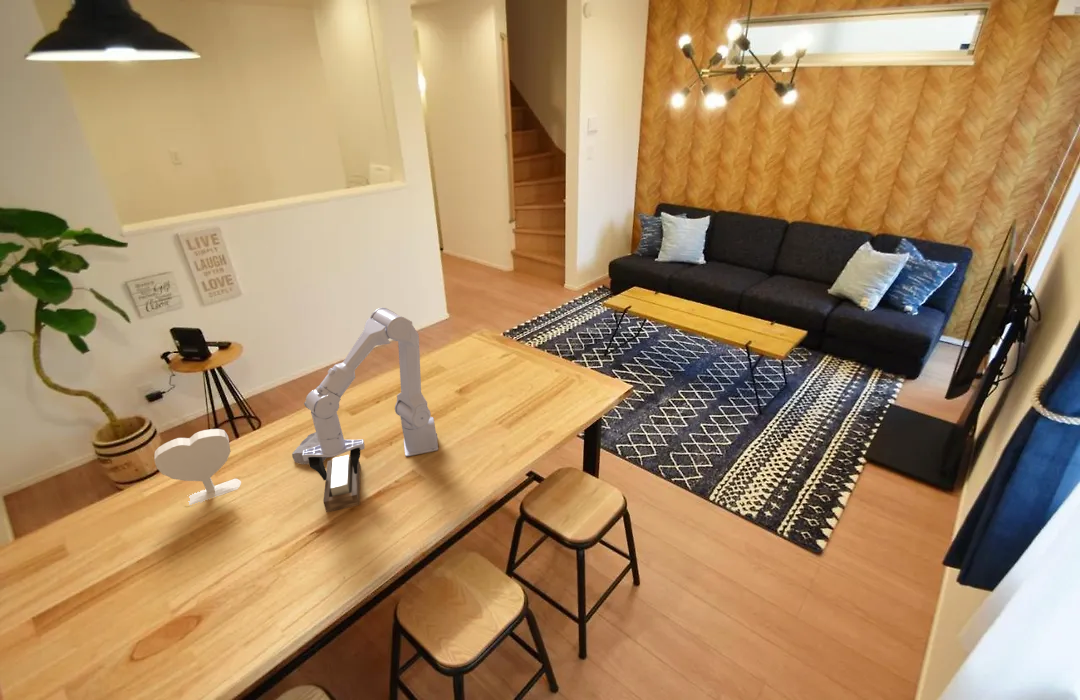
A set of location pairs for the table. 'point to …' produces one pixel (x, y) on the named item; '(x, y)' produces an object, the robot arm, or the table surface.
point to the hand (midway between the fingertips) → (340, 474)
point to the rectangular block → (341, 476)
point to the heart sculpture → (197, 462)
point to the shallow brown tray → (344, 499)
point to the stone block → (306, 448)
